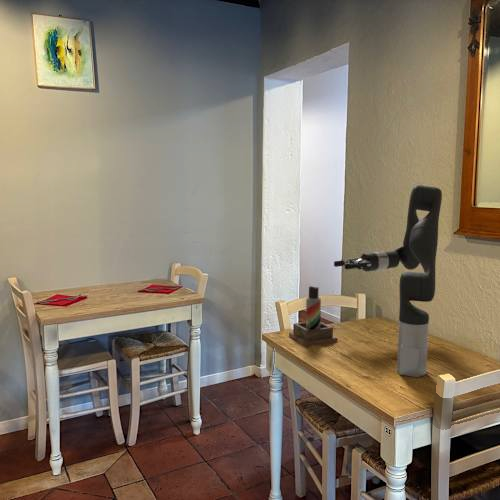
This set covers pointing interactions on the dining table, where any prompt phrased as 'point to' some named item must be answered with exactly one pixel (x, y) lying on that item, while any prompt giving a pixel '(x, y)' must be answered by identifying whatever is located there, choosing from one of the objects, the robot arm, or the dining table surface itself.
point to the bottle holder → (312, 334)
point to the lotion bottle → (313, 309)
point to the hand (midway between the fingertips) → (339, 265)
